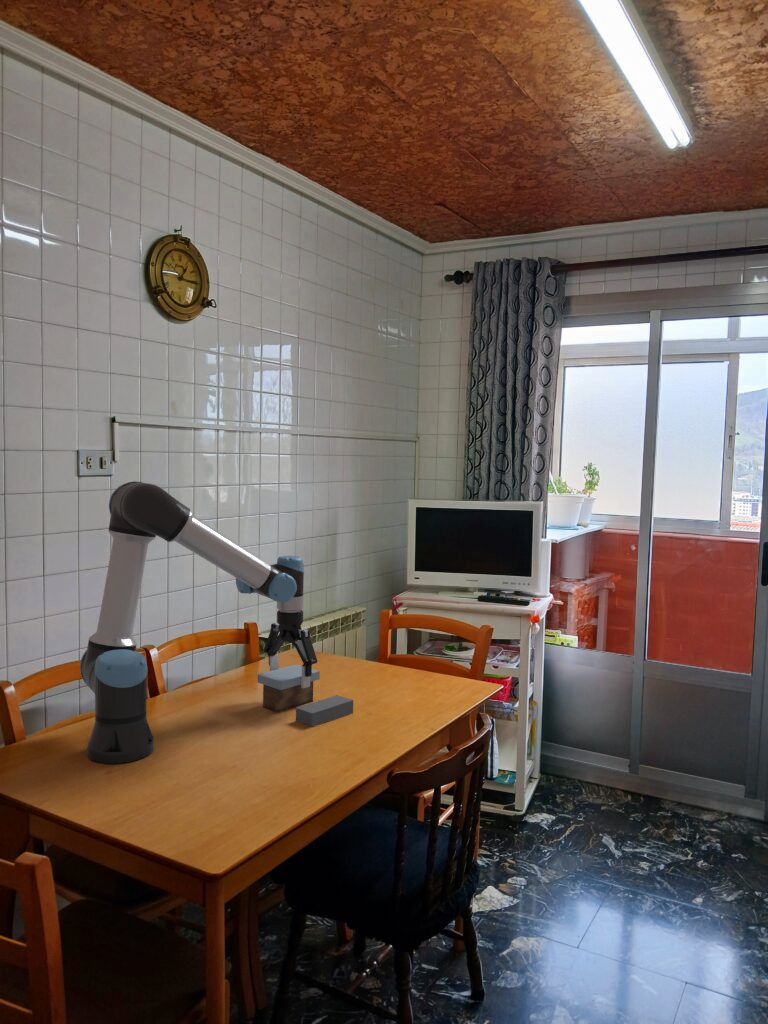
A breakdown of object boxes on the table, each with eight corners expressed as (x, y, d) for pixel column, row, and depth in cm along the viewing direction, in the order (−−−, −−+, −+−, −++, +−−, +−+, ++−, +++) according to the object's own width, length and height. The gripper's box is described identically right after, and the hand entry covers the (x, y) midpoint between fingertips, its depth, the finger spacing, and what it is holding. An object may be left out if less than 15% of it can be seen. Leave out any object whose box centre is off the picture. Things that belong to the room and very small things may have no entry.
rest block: (312, 727, 202) (312, 713, 202) (295, 721, 207) (296, 707, 206) (353, 712, 215) (353, 700, 214) (336, 707, 219) (337, 695, 218)
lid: (280, 690, 211) (281, 681, 211) (257, 682, 217) (257, 674, 217) (319, 679, 222) (319, 671, 222) (296, 672, 229) (296, 664, 229)
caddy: (276, 712, 213) (277, 688, 213) (262, 707, 217) (263, 683, 216) (312, 701, 224) (313, 678, 223) (298, 696, 228) (299, 674, 227)
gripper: (330, 614, 213) (329, 688, 215) (271, 602, 229) (270, 671, 231) (311, 618, 207) (310, 694, 209) (251, 605, 224) (251, 676, 225)
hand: (289, 682), depth 220 cm, fingers open, 13 cm apart
